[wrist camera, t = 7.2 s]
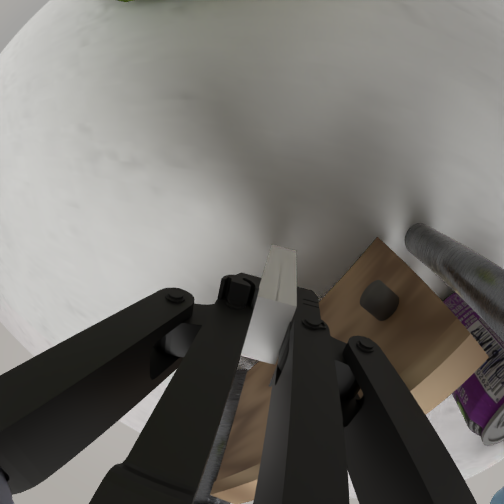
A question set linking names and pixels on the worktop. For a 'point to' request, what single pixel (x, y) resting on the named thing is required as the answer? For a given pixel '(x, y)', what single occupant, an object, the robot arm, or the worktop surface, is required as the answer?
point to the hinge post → (220, 443)
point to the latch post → (462, 272)
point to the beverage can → (481, 377)
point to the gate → (378, 330)
